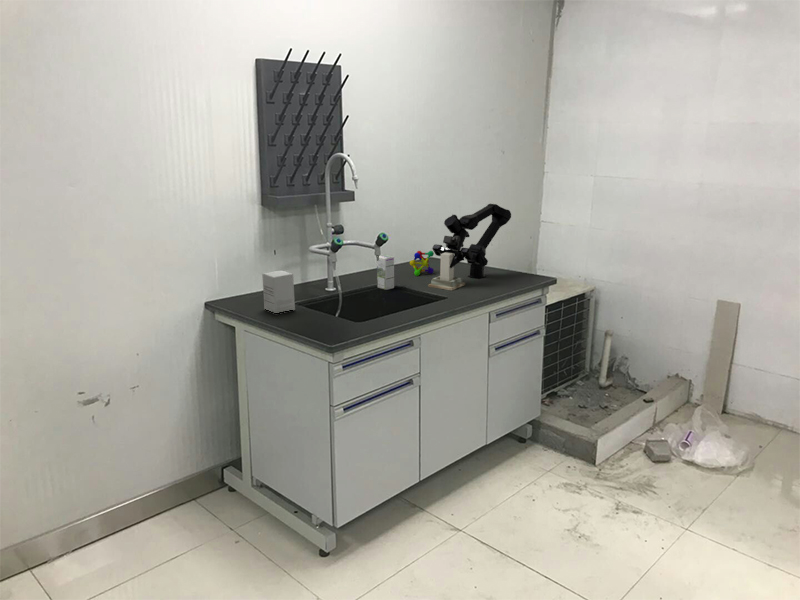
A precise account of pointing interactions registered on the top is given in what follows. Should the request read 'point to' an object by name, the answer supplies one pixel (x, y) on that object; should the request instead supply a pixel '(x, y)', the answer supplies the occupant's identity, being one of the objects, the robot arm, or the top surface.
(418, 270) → the molecular model
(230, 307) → the top surface
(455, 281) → the jig
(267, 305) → the supplement box
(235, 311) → the top surface
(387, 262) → the syrup box
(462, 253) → the robot arm
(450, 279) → the fuselage block
